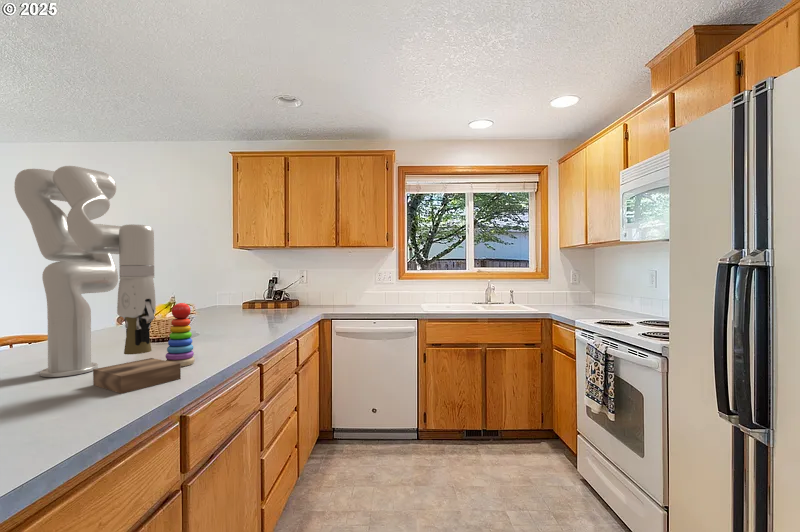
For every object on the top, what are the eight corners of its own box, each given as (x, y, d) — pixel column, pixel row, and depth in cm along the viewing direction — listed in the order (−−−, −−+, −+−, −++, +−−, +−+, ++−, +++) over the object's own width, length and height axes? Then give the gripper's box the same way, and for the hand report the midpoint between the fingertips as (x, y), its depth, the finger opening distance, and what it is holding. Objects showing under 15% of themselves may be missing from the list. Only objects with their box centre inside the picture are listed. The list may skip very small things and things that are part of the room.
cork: (149, 348, 106) (148, 307, 106) (154, 351, 101) (153, 309, 101) (122, 352, 102) (121, 309, 102) (125, 355, 97) (125, 311, 97)
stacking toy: (181, 368, 115) (181, 304, 115) (158, 367, 116) (157, 304, 117) (200, 362, 123) (200, 302, 123) (178, 361, 124) (178, 301, 124)
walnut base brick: (93, 385, 99) (93, 369, 99) (151, 372, 111) (151, 357, 111) (121, 393, 92) (121, 376, 92) (180, 378, 104) (180, 363, 104)
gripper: (104, 273, 102) (105, 343, 102) (138, 272, 94) (139, 349, 94) (136, 272, 109) (136, 339, 109) (170, 272, 101) (171, 344, 100)
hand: (138, 343), depth 101 cm, fingers closed on cork, 3 cm apart
